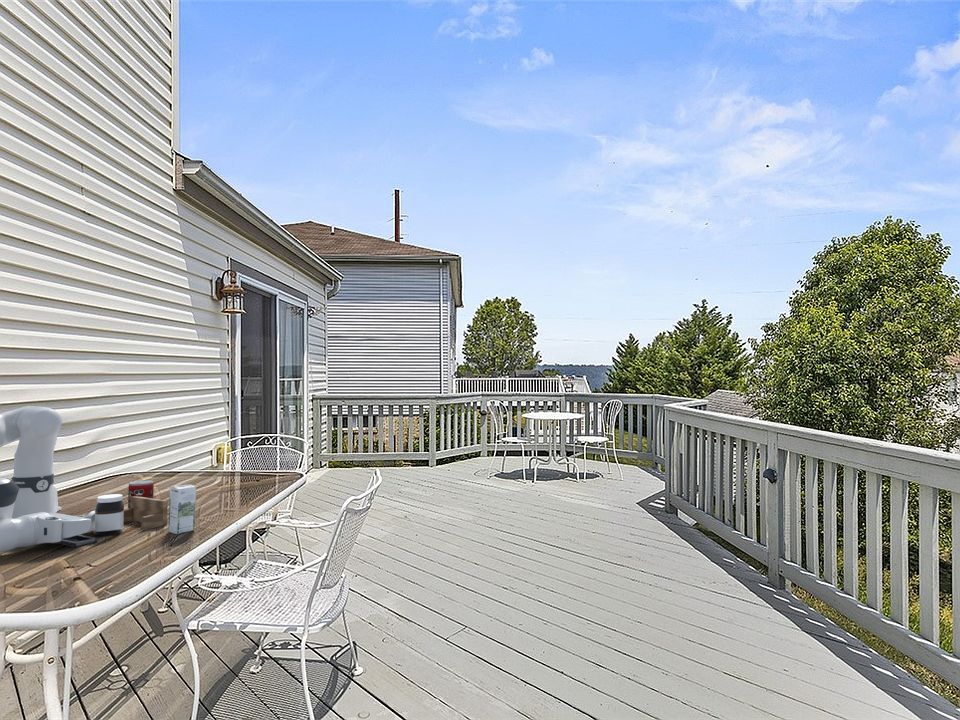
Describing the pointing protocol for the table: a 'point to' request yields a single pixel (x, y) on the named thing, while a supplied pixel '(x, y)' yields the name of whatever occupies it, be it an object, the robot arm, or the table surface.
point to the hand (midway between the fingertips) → (88, 517)
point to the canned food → (140, 489)
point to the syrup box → (182, 509)
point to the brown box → (147, 512)
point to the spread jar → (108, 515)
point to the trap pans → (77, 541)
